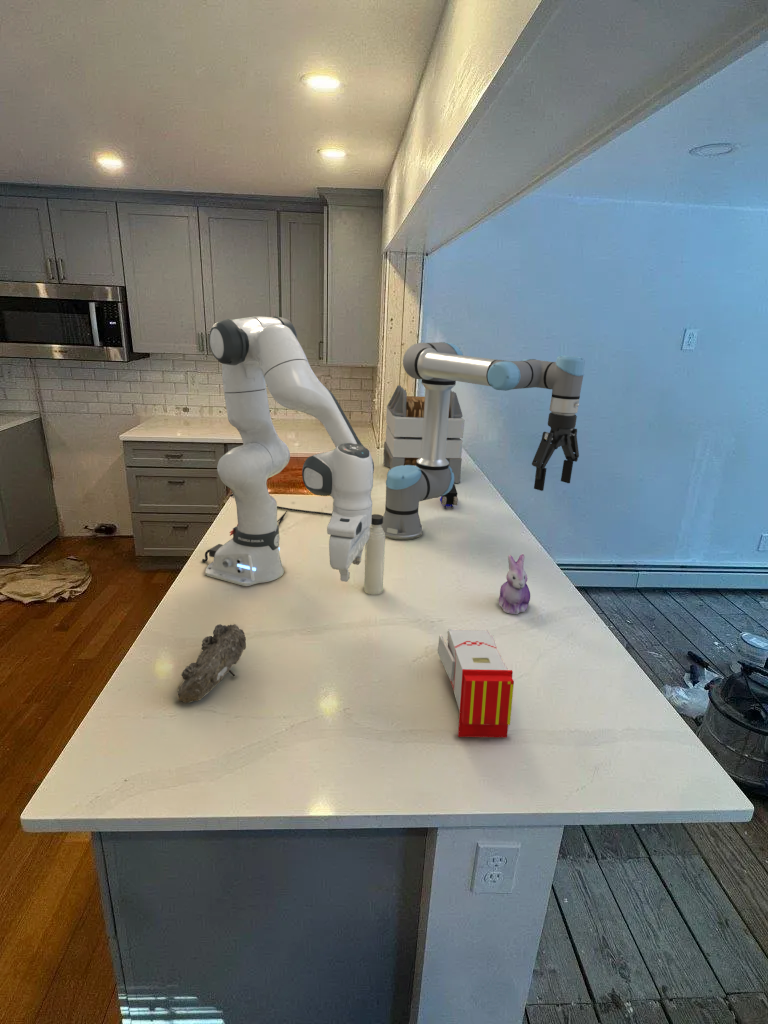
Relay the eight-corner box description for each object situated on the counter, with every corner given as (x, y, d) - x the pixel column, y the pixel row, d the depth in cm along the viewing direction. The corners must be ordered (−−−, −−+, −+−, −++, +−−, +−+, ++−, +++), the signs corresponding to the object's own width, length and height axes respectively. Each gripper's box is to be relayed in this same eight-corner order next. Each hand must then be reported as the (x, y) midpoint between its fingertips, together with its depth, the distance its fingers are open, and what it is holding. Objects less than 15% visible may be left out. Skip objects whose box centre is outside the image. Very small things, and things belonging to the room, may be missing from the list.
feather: (294, 505, 227) (296, 501, 226) (277, 528, 200) (280, 524, 199) (290, 503, 226) (292, 499, 226) (273, 526, 200) (276, 521, 199)
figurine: (512, 619, 147) (519, 566, 142) (488, 601, 156) (494, 551, 151) (540, 611, 151) (548, 560, 146) (515, 594, 160) (522, 546, 155)
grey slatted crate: (382, 463, 289) (386, 382, 275) (445, 464, 293) (451, 384, 279) (390, 482, 257) (394, 392, 243) (460, 483, 261) (468, 394, 247)
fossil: (199, 626, 130) (246, 596, 125) (228, 655, 132) (275, 626, 127) (155, 696, 110) (209, 664, 105) (190, 728, 113) (244, 697, 108)
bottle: (362, 593, 157) (365, 520, 150) (365, 585, 162) (367, 513, 155) (381, 595, 157) (385, 522, 149) (383, 586, 162) (387, 515, 154)
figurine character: (457, 514, 225) (453, 498, 239) (459, 497, 222) (455, 481, 236) (441, 513, 225) (437, 497, 239) (442, 496, 222) (439, 481, 235)
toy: (488, 613, 130) (523, 677, 101) (484, 667, 133) (517, 744, 104) (435, 612, 130) (455, 676, 101) (432, 666, 133) (451, 743, 103)
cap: (368, 524, 151) (368, 518, 150) (369, 519, 154) (370, 513, 154) (382, 525, 151) (382, 519, 150) (383, 520, 154) (383, 514, 154)
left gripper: (352, 500, 138) (351, 552, 143) (324, 530, 120) (323, 588, 124) (377, 503, 137) (375, 556, 142) (352, 533, 118) (351, 592, 123)
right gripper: (548, 419, 148) (537, 496, 155) (598, 411, 163) (586, 482, 171) (525, 414, 153) (515, 489, 160) (575, 407, 169) (564, 476, 176)
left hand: (351, 571), depth 133 cm, fingers open, 8 cm apart
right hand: (552, 485), depth 166 cm, fingers open, 13 cm apart
